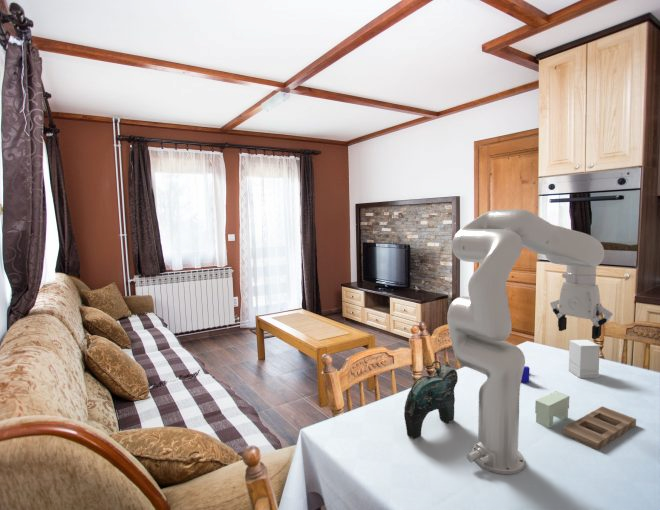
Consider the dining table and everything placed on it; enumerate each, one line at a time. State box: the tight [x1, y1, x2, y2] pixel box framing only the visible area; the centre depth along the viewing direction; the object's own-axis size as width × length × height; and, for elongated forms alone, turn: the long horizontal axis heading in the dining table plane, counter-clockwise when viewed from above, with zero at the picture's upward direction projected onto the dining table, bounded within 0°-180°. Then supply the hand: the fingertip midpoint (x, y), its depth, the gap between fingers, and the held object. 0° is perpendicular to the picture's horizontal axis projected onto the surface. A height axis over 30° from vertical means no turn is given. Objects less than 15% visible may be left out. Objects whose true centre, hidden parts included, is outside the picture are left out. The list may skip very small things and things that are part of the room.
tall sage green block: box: [534, 390, 570, 429], centre depth 118 cm, size 11×4×7 cm, turn 120°
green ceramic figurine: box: [403, 360, 458, 440], centre depth 115 cm, size 20×6×20 cm, turn 123°
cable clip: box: [521, 365, 531, 384], centre depth 149 cm, size 12×4×6 cm, turn 169°
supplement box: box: [568, 339, 601, 379], centre depth 149 cm, size 7×7×13 cm
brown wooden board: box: [562, 406, 637, 451], centre depth 112 cm, size 22×9×2 cm, turn 120°
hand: (578, 334), depth 119 cm, fingers open, 9 cm apart
